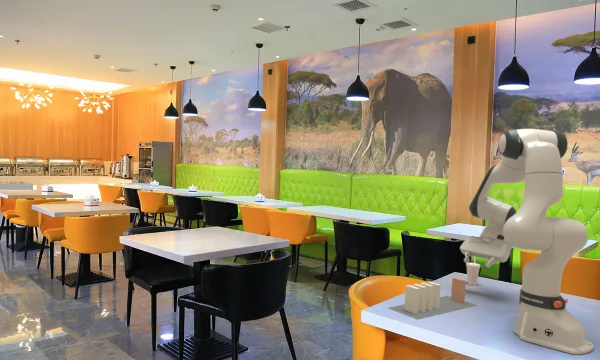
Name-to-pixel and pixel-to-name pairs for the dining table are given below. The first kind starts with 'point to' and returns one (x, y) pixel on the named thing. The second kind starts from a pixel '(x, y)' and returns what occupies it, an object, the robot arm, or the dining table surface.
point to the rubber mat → (444, 307)
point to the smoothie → (472, 272)
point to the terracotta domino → (458, 290)
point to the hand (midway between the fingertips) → (475, 264)
